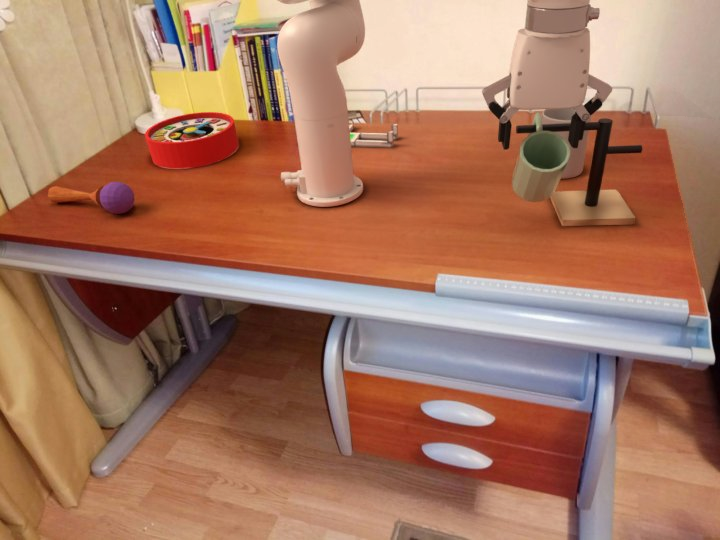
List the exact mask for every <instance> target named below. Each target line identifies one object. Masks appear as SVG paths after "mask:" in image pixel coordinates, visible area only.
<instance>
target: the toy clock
mask: <svg viewBox="0 0 720 540" xmlns="http://www.w3.org/2000/svg"><path fill="white" fill-rule="evenodd" d="M237 133H238V132H237V128H236V125H235V119H234V117H233V116H231V115H230V114H227V113H225V112H224V113H223V112H218V111H216V112H215V111H202V112H193V113H192V112H191V113H185V114H182V115H177V116H173V117H170V118H167V119H165V120H161V121H159V122H157V123H155V124H153V125H151V126H150V127H149V128H147V129H146V131H145V133H144V137H145V140H146V144H147V147H148V151H149V154H150V157H151V160H152V162H153V164H154V165H156V166H158V167H159V168H162V169H170V170H184V169H193V168H200V167H204V166H208V165H211V164H216V163H217V162H220V161H223V160H225V159H227V158H228V157H230V156H232V155H233V154H234V153H236V152H237V151H238V149H239V147H240V141H239V138H238V134H237Z"/></svg>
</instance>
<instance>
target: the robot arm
mask: <svg viewBox="0 0 720 540" xmlns="http://www.w3.org/2000/svg"><path fill="white" fill-rule="evenodd" d="M277 1H278V2H279V3H282V4H285V5H296V4H301V3H305V2H309V6H310V9H308V10H305V11H302V12H299V13H297V14H295V15H294V16H292V17H290V18H289V19H288V20H287V21H285V23H284V24H283V25H282V27H281V28H280V30H279V32H278V35H277V42H276V48H277V54H278V59H279V63H280V64H281V68H282V70H283V73H284V76H285V79H286V84H287V87H288V91H289V96H290V102H291V109H292V114H293V121H294V128H295V134H296V135H295V136H296V140H297V146H298V147H297V148H298V153H299V160H300V167H301V169H298V170H297V171H293V172H292V171H281V172H280V181H281V183H284V186H285V187H297V188H296V195H297V198H298V200H299V201H300V202H301V203H303V204H306V205H309V206H313V207H317V208H319V207H320V208H325V207H326V208H328V207H337V206H343V205H345V204H348V203H350V202H352V201H354V200H356V199H357V198H359V197H360V196H361V195H362V194H363V191H364V183H363V181H362V179H361V178H359V177H358V176H357V175H355V173H354V172H355V171H354V161H353V152H352V146H351V140H350V130H349V124H350V119H349V111H348V101H347V93H346V90H345V86H344V84H343V82H342V79H341V78H340V75H339V72H338V68H337V66H339V65H340V64H342V63H345V62H346V61H348V60H350V59H351V58H353V57H355V56H356V55H357V54H358V53H359V52H360V51H361V49H362V47H363V45H364V42H365V39H366V24H365V17H364V14H363V10H362V5H361V0H277ZM590 2H591V0H527V2H526V10H525V11H526V12H525V21H524V28H520V29H518V30H517V33H516V36H515V39H514V44H513V47H512V48H513V49H512V52H511V57H510V64H509V70H508V75H507V76H504V77H502V78H501V79H499V80H497V81H494V82H493V83H491V84H489V85H488V86H485V87H484V88H483V89H482V90H481V93H482V95H483V98H484V101H485V103H486V105H487V107H488V109H489V111H490V112H491V113H492V114H493V116H495V117H496V118H497V119H498V121H499V122H498V132H497V141H498V143H501V146H502V148H503V150H504V151H505V150H506V151H508V150H509V149H510V146H511V144H510V143H511V134H512V121H511V118H512V117H513V116H514V115H515V114H517V113H518V111H536V110H537V111H538V110H539V111H541V110H543V111H544V110H545V109H570V108H573V109H574V110H575V111H576V112H575V114H573V116H572V118H571V124H570V130H569V136H568V141H569V143H570V145H571V147H573V148H578V143H579V140H582V139H583V134H584V129H585V123H586V121H587V120H589V118H590V116H591V117H592V115H593V114H595V113H596V112H597V111H599V110H600V109H601V108H602V107H603V104H604V102H605V101H606V100H607V99H608V97H609V96H610V94H611V93H612V92H613V86H611V85H610V84H609V83H608V82H606V81H604V80H602V79H600V78H598V77H596V76H594V75H592V74H590V63H591V62H590V61H591V32H590V29H589V28H588V24H589V23H590V22H592V21H593V20H599V17H600V15H601V14H600V13H601V9H600V7H593V6H592V5H591V4H590ZM588 87H590V88H592V89H593V90H595V91H596V93H595V94H594V96H593V97H592V98H590V99H589V100H588V101H587V102H586V103H584V102H585V100H586V95H587V91H588ZM505 90H506V98H507V99H508V100H506V102H504V103H503V105H502V106H501V105H500V103H498V102H497V100H496V99H495V97H496V95H498V94H500V93H502V92H503V91H505Z"/></svg>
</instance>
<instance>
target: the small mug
mask: <svg viewBox="0 0 720 540" xmlns="http://www.w3.org/2000/svg"><path fill="white" fill-rule="evenodd" d="M541 117H542V113H541V112H536V113H535V114H534V117H533V121H532V124H531V125H536V131H537V132H534V133H528V135H527V136H526V137H525V138H524V139H522V141H521V144H520V146H519V149H518V154H517V156H516V157H517V158H516V161H515V165H514V168H513V172H512V176H511V187H512V190H513V192H514V193H515V194H516V195H517V196H518V197H519V198H520V199H522V200H523V201H526V202H530V203H541V202H544V201H546V200H549V199H550V197H551V196H552V195H553V194H554V192H555V191H557V189H558V186H559V184H560V181H561V180H562V179H561V176H562V174H563V172H564V169H565V167H566V165H567V162H568V160H569V157H570V146H569V144H568V143H567V141H566V140H565V139H564V138H563V137H562V136H560V135H559V134H557V133H555V132H551V131H543V127H542V118H541Z"/></svg>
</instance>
